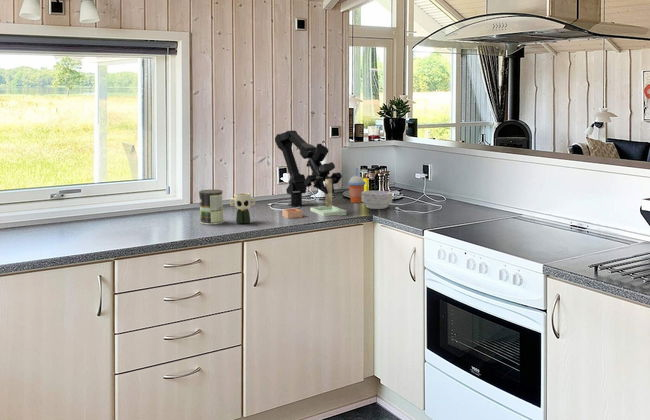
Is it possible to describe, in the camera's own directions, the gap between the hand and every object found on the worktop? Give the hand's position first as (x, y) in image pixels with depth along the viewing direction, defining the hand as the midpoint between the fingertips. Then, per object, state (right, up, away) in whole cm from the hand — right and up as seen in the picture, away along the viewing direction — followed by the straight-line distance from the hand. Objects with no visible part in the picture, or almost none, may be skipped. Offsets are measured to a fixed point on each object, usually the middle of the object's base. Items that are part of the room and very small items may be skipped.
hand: (330, 193), depth 296 cm
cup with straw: (+14, -4, +35) cm, 38 cm away
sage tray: (-1, -9, +4) cm, 10 cm away
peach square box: (-18, -11, -6) cm, 22 cm away
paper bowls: (+23, -7, +18) cm, 30 cm away
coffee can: (-53, -14, -15) cm, 56 cm away
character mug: (-39, -14, -17) cm, 44 cm away
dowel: (-1, -6, +2) cm, 7 cm away
